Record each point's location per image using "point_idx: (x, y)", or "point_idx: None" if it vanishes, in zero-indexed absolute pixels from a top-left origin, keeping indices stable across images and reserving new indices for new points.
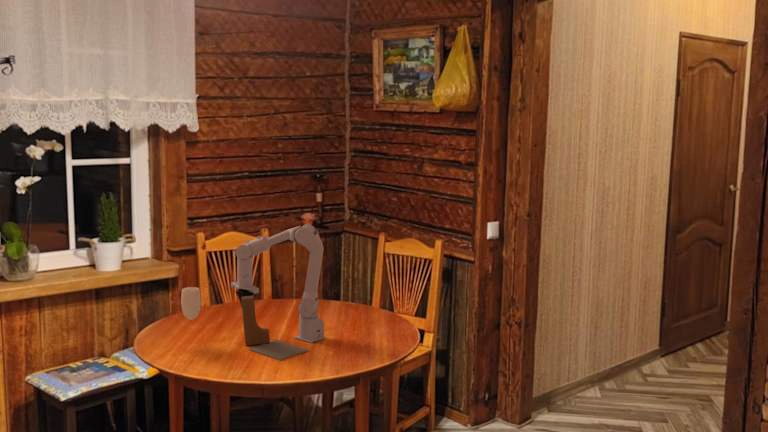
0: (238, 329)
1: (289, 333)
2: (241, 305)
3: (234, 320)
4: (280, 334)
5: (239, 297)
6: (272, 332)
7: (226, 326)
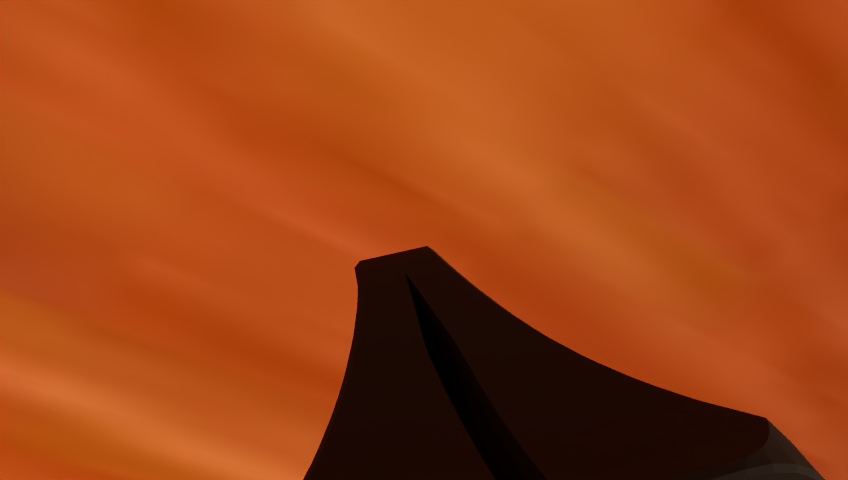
0: (530, 123)
1: (69, 474)
2: (435, 270)
3: (780, 226)
4: (82, 400)
5: (547, 375)
6: (199, 363)
7: (710, 67)
